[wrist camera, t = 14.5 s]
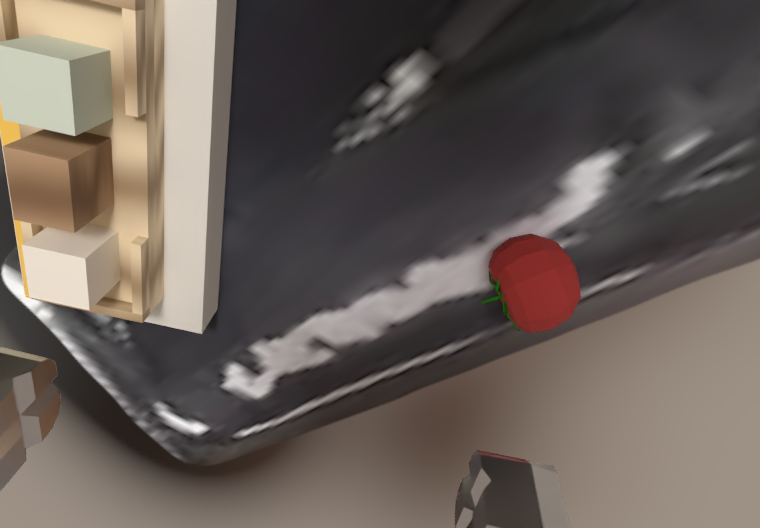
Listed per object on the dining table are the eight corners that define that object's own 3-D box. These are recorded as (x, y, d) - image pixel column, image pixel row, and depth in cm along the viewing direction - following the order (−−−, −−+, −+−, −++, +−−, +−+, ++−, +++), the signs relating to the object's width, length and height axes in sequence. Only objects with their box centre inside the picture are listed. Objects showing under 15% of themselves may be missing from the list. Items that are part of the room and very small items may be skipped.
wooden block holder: (26, -39, 35) (-73, -40, 28) (164, -7, 35) (99, -1, 28) (61, 274, 46) (-3, 326, 40) (163, 296, 47) (118, 352, 40)
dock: (8, -98, 37) (-40, -105, 33) (239, -44, 37) (217, -45, 33) (52, 272, 51) (23, 296, 48) (217, 309, 52) (200, 335, 48)
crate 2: (60, 218, 40) (21, 244, 37) (118, 230, 41) (85, 258, 37) (65, 267, 43) (29, 297, 39) (120, 279, 43) (89, 310, 39)
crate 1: (41, 34, 34) (-9, 43, 30) (110, 50, 34) (69, 60, 30) (48, 103, 36) (3, 119, 32) (113, 118, 36) (75, 136, 32)
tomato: (603, 293, 37) (499, 335, 38) (592, 325, 44) (505, 360, 45) (550, 203, 41) (457, 242, 42) (548, 245, 48) (468, 278, 49)
